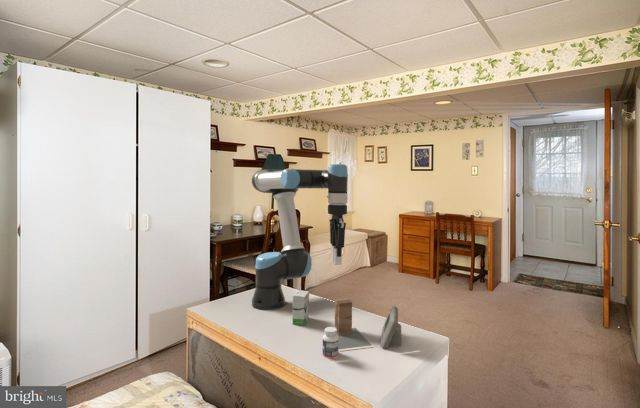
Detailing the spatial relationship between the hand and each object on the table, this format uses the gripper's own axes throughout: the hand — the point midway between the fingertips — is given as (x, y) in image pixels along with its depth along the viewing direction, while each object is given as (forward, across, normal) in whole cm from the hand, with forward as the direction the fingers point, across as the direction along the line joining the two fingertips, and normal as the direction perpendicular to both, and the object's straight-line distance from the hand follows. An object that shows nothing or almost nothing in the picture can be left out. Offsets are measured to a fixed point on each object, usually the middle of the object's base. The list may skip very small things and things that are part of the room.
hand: (336, 263), depth 142 cm
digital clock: (+25, +19, +14) cm, 34 cm away
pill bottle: (+25, +24, -10) cm, 36 cm away
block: (+24, +8, 0) cm, 26 cm away
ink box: (+25, -6, -13) cm, 29 cm away
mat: (+25, +14, 0) cm, 28 cm away
